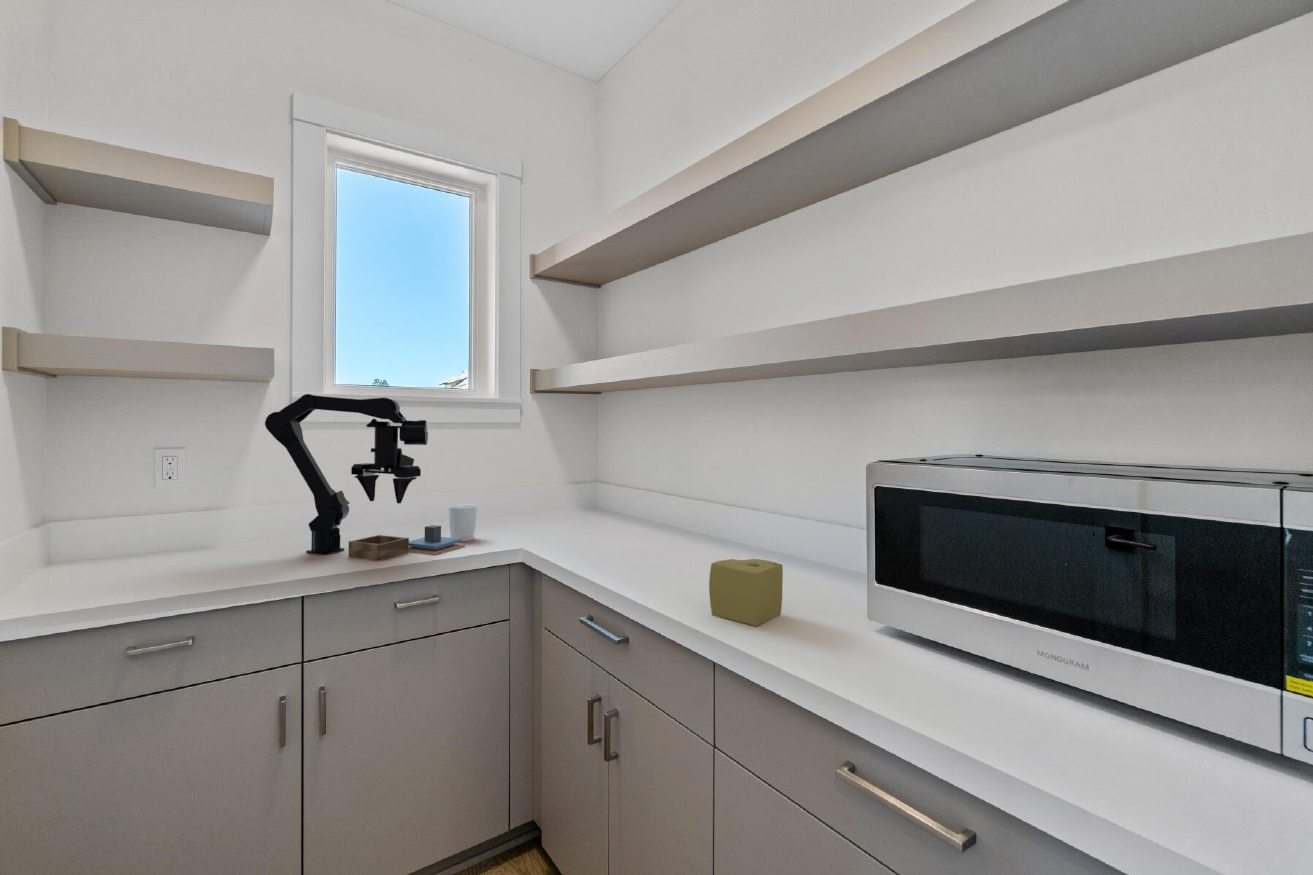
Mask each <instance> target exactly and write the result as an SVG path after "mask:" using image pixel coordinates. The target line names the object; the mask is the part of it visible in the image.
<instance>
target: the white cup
mask: <svg viewBox="0 0 1313 875" xmlns="http://www.w3.org/2000/svg"><path fill="white" fill-rule="evenodd" d="M477 507H478V506H477V505H475V504H469V503H468V504H466V503H465V504H450V505H449V506H448V520H449V522H448V523H449V525H448V526H449V538H456V539H461V542H469V541H473V540H474V539H475V530H476V522H477Z"/></svg>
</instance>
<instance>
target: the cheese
mask: <svg viewBox="0 0 1313 875" xmlns="http://www.w3.org/2000/svg"><path fill="white" fill-rule="evenodd" d="M710 564H711V565H710V570H709V578H708V580H709V582H708V590H709V594H708V595H709V604H710V609H711V610H710V611H711V616H714V617H718V618H720V619H721V618H723V619H726V620H729V621H733V622H738V623H743V624H745V623H746V625H748V626H749V625H751V626H752V627H753V626H754V627H758V626H760V625H763V624H764V623H766V622H768V621H769V620H770V621H771V618H772V619H774V618H775V616H776V617H778V616H780V615H781V614H782V604H783V581H784V578H783V576H784V574H783V573H784V572H783V570H784V569H783V564H782V563H779V562H778V563H777V562H775V561H771V560H765V559H760V558H752V559H751V558H750V559H735V558H731V559H724V560H716V561H714V562H711V563H710ZM777 615H778V616H777ZM762 623H763V624H762Z"/></svg>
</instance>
